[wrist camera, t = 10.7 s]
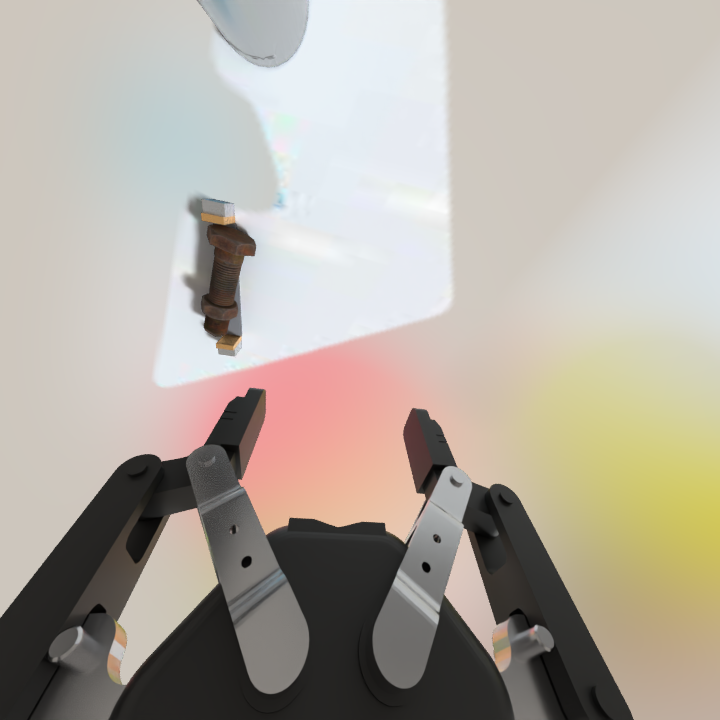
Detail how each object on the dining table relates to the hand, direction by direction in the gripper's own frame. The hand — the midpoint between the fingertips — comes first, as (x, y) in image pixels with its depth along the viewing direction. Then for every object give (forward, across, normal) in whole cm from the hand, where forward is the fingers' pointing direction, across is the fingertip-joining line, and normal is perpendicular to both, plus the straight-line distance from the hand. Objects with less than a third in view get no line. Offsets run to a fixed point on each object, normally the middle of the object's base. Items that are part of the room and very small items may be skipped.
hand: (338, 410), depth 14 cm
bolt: (+28, +16, +4) cm, 33 cm away
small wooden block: (+28, +16, +14) cm, 35 cm away
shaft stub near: (+28, +16, -6) cm, 33 cm away
